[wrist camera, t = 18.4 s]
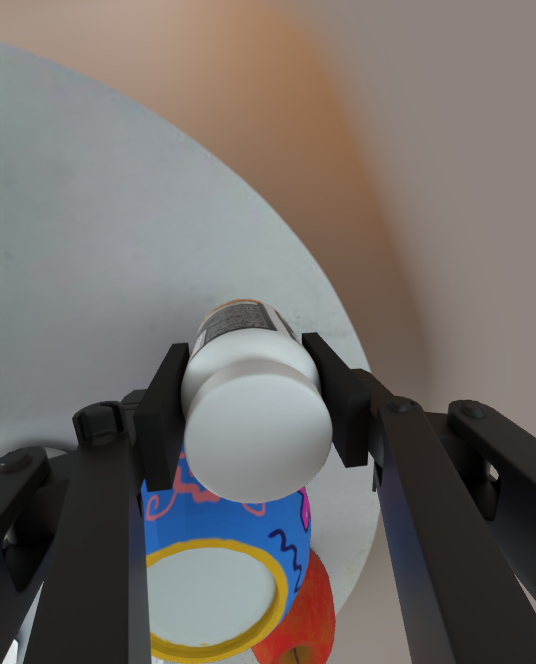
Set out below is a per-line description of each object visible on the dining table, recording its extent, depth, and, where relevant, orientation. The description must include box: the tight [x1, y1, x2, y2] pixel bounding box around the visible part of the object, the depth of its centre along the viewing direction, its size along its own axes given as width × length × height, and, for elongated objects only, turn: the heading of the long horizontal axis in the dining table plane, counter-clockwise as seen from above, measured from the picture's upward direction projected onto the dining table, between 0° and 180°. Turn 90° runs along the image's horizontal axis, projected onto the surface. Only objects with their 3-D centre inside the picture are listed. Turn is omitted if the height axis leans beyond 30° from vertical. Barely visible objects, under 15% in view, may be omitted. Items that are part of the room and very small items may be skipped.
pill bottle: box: [181, 299, 333, 503], centre depth 14 cm, size 6×6×10 cm
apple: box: [251, 550, 335, 664], centre depth 35 cm, size 11×11×11 cm
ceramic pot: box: [141, 440, 311, 664], centre depth 28 cm, size 18×18×15 cm
